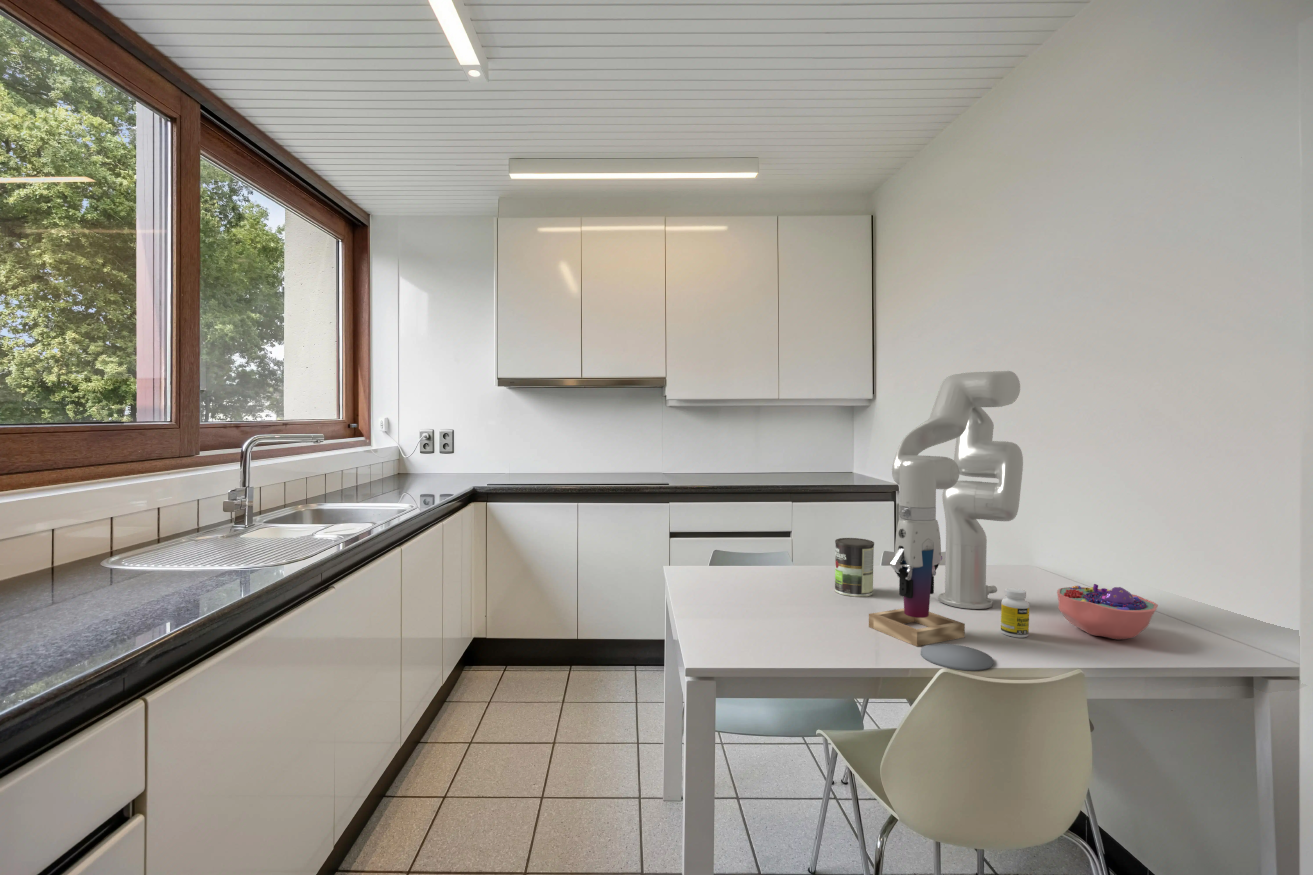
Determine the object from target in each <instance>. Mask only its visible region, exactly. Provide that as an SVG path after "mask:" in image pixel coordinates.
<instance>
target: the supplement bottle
mask: <svg viewBox="0 0 1313 875" xmlns="http://www.w3.org/2000/svg"><path fill="white" fill-rule="evenodd" d="M1005 596H1006V597H1004V598H1002V600H1001V610H1000V612H1001V613H1000V633H1001V634H1003V635H1005V636H1008V637H1012V638H1018V639H1019V638H1020V639H1021V638H1023V639H1025V638H1027V637H1028V636H1029V632H1030V628H1029V627H1030V626H1029V625H1030V603H1029V602H1028V601H1027V600H1026V599H1027V591H1026V589H1025V590H1024V589H1021V588H1015V587H1008V588H1005Z"/></svg>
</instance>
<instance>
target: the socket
mask: <svg viewBox="0 0 1313 875" xmlns="http://www.w3.org/2000/svg"><path fill="white" fill-rule="evenodd" d="M909 623H910V624H911V623H917V624H920V625H923V626H925V627H921V628H915V627H913V626H909V625H906V624H909ZM965 624H966V623H965V622H961V621H958V620H955V619H952V618H949V617H947V616H944V615H940V614H937V613H935V612H931V611H929V616H928V617H925V618H916V617H911V616H908V615H906V614H905V613H904V607H903V608H898V609H891V610H886V611H885V610H883V611H879V612H873V613H872V612H871V613H868V628H871V629H872V630H875V631H877V632H880V633H883V634H885V635H888V636H889V637H893V638H895V639H898V640H900V641H903V642H905V643H908V644H910V645H912V646H915V647H921V646H922V647H923V646H926V645H930V644H939V643H941V642H943V643H944V642H947V641H952V640H957V639H963V638H965V633H966V632H965V630H966V625H965Z"/></svg>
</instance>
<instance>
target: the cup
mask: <svg viewBox="0 0 1313 875" xmlns="http://www.w3.org/2000/svg"><path fill="white" fill-rule="evenodd" d="M933 551H934V549H932V550H927V551H922V561H923V566H922V567H920V568H913V573H912V576H911V579H910V580H913V598H907V597H904V596H902V597H903V608H904V613H905V614H906V615H908V616H911V617H916V618H925V617H928V616H929V612H930V603H931V602H930V601H931V594H930V591H931V577H932V563H933ZM904 564H906V565H907V563H906V561H905V560H904ZM907 569H908V568H906V567H904V570H905V571H906V573H907Z"/></svg>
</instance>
